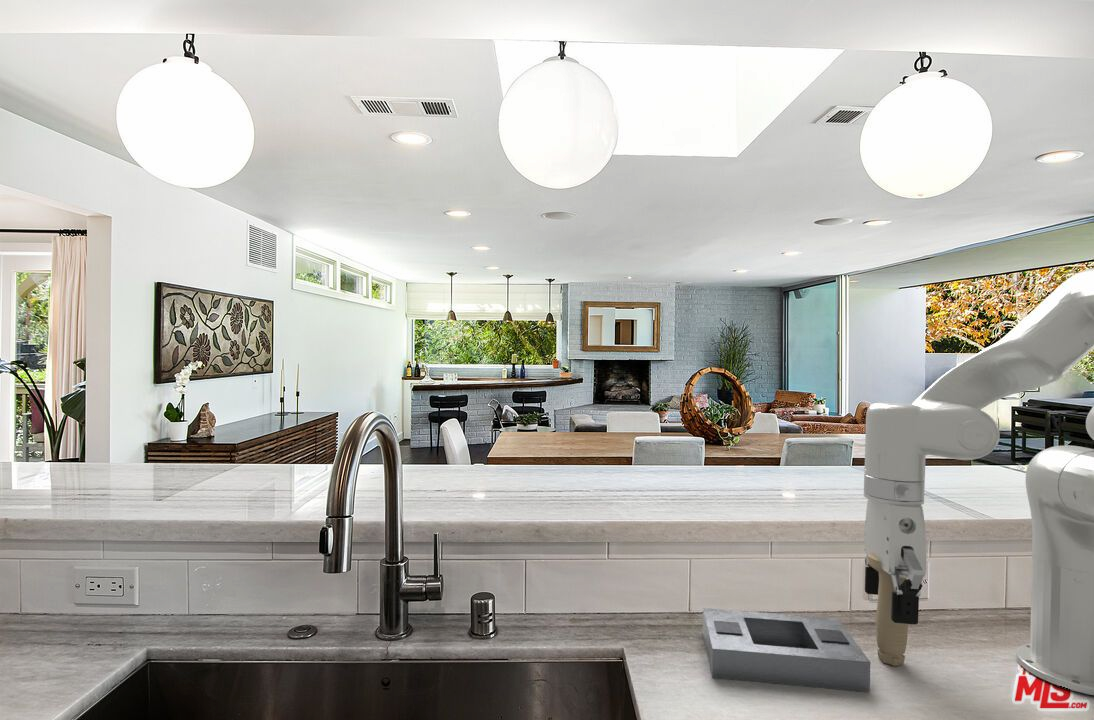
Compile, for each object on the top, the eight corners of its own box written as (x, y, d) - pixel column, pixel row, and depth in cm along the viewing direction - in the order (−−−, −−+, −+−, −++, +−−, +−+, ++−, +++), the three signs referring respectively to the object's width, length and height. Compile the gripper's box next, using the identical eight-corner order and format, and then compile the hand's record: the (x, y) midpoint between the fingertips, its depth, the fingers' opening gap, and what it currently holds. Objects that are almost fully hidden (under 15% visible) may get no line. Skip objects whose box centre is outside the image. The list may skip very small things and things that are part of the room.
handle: (922, 672, 83) (924, 565, 83) (873, 668, 84) (875, 562, 84) (907, 655, 88) (909, 553, 88) (860, 651, 89) (862, 551, 89)
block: (837, 644, 91) (838, 616, 91) (869, 692, 78) (870, 660, 78) (702, 633, 94) (702, 606, 94) (712, 677, 81) (712, 646, 81)
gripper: (953, 506, 76) (948, 638, 77) (896, 478, 93) (892, 586, 94) (890, 502, 78) (885, 632, 78) (845, 475, 95) (841, 582, 95)
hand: (889, 607), depth 86 cm, fingers open, 9 cm apart
